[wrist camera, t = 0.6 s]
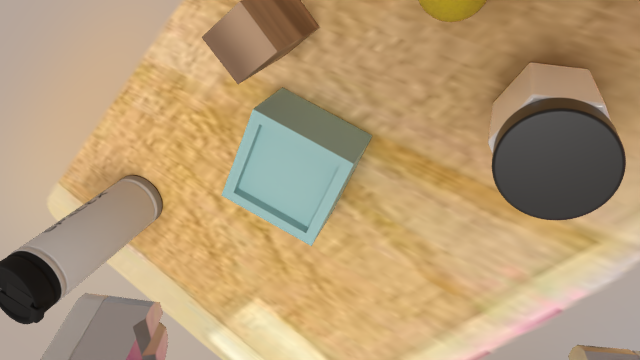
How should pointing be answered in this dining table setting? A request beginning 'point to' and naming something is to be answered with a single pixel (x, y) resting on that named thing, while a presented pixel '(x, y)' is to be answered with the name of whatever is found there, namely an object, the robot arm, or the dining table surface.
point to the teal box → (294, 164)
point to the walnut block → (258, 34)
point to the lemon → (451, 8)
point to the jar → (554, 143)
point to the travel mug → (75, 248)
